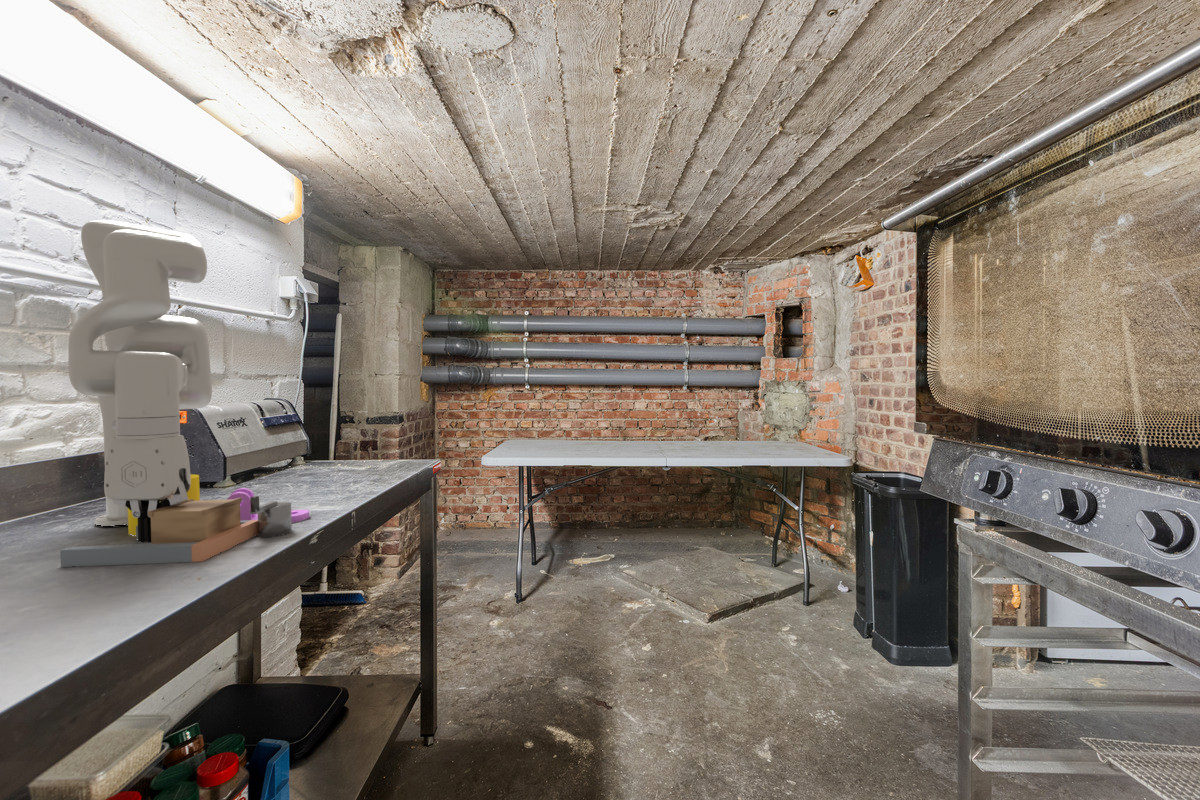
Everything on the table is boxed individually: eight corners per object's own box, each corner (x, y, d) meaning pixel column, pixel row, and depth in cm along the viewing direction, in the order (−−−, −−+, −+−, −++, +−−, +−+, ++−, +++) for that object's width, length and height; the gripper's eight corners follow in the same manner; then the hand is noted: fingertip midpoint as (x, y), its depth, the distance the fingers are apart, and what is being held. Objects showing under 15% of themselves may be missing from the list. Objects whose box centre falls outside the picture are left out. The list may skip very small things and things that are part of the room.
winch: (269, 529, 88) (268, 487, 87) (297, 528, 88) (296, 486, 88) (237, 544, 79) (236, 498, 79) (269, 543, 80) (268, 497, 79)
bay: (143, 537, 83) (143, 523, 83) (260, 533, 85) (260, 519, 85) (60, 567, 69) (60, 550, 69) (202, 561, 71) (202, 544, 71)
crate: (191, 540, 82) (190, 499, 81) (242, 538, 82) (241, 497, 82) (149, 557, 73) (147, 511, 73) (207, 555, 74) (206, 509, 74)
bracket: (226, 531, 87) (225, 494, 87) (231, 524, 92) (230, 489, 92) (309, 521, 94) (308, 486, 94) (309, 515, 98) (308, 481, 98)
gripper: (76, 430, 72) (79, 548, 73) (177, 430, 73) (180, 547, 74) (122, 425, 80) (125, 532, 80) (214, 425, 81) (216, 532, 81)
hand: (152, 539), depth 77 cm, fingers closed
